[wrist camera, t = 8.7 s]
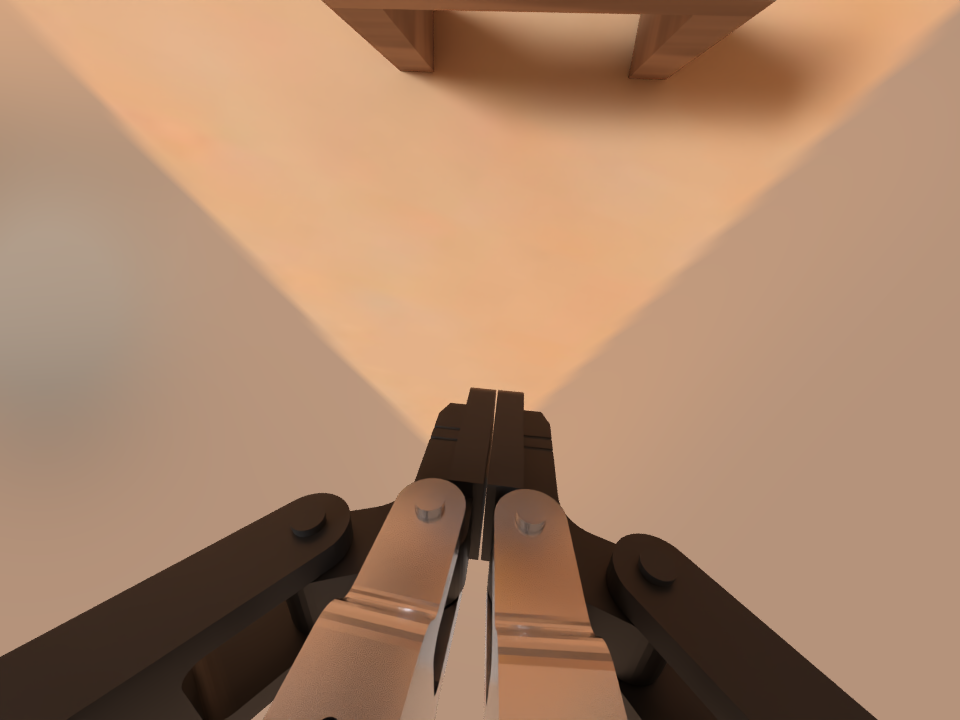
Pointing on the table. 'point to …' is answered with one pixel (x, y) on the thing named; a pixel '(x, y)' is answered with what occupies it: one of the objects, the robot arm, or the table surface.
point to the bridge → (661, 4)
